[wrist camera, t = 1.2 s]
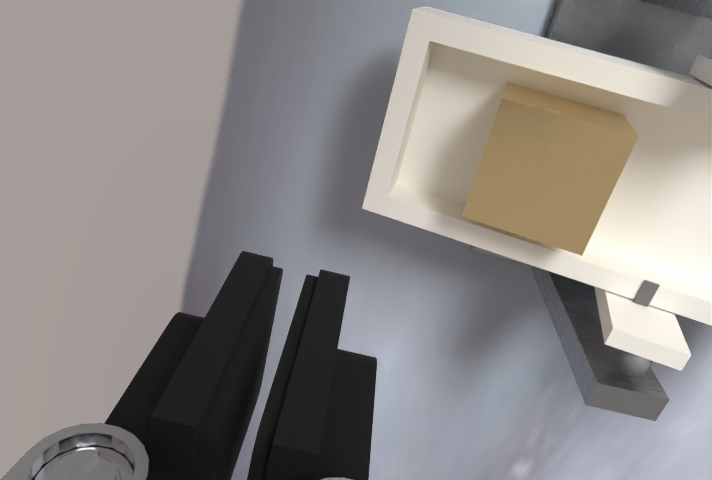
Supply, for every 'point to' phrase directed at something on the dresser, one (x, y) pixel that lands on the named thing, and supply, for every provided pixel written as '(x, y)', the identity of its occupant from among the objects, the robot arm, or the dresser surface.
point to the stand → (577, 299)
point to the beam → (627, 202)
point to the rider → (549, 168)
